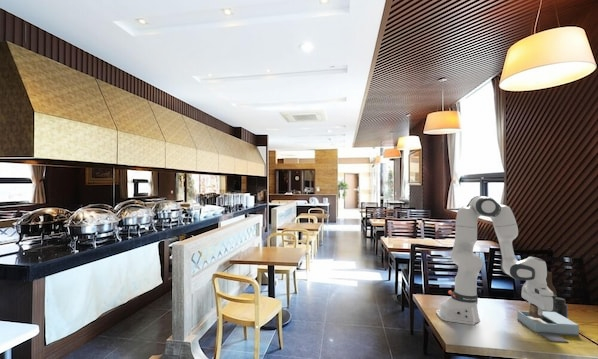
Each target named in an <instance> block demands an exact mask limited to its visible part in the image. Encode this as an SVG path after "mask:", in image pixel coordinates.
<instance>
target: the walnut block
mask: <svg viewBox="0 0 598 359" xmlns="http://www.w3.org/2000/svg"><path fill="white" fill-rule="evenodd" d="M537 311H538V307H537V306H536V305H534V304H530V306H529V312H530V313H529V315H530V316H532V317H534V318H540V319H542V315H538V314H537Z"/></svg>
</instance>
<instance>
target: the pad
mask: <svg viewBox="0 0 598 359" xmlns="http://www.w3.org/2000/svg"><path fill="white" fill-rule="evenodd" d="M538 334H539V335H540V336H542V337H543V338H545V339H546V340H547V341H548V342H553V343H563V344H564V343H565V344H568V343H569V340H567V339H564V338H563V337H562V336H561V335H557V334H554V333H538Z"/></svg>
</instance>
